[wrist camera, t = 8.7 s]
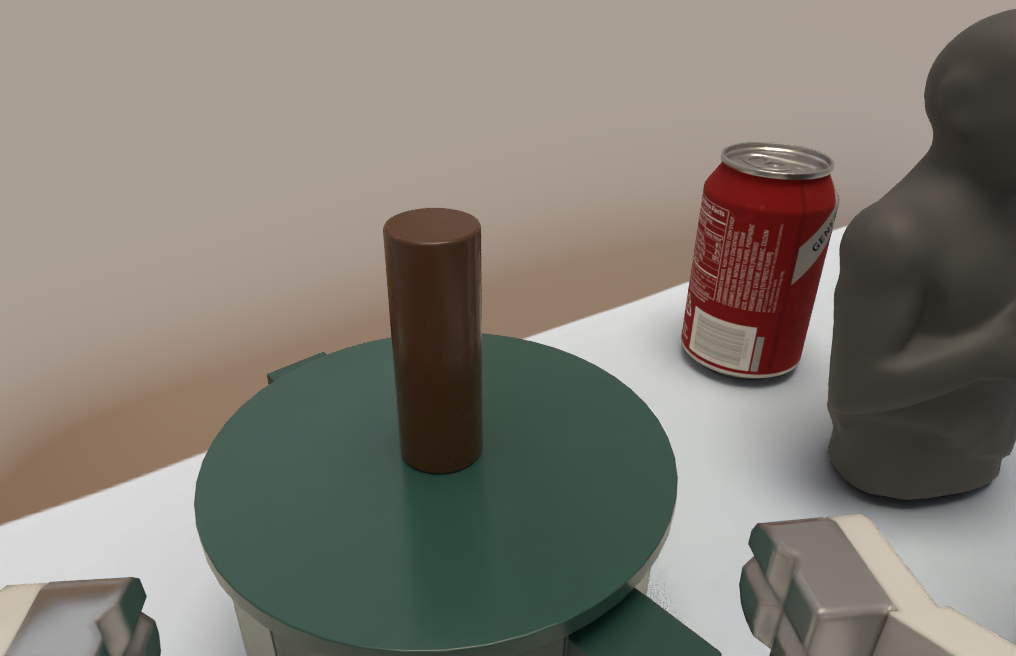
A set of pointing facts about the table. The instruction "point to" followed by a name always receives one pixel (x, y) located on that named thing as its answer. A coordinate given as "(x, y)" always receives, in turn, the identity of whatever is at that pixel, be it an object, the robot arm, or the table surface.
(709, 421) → the table surface
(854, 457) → the figurine
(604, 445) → the lid
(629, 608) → the pot
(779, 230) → the soda can
